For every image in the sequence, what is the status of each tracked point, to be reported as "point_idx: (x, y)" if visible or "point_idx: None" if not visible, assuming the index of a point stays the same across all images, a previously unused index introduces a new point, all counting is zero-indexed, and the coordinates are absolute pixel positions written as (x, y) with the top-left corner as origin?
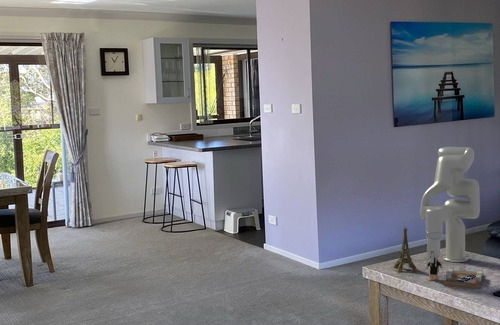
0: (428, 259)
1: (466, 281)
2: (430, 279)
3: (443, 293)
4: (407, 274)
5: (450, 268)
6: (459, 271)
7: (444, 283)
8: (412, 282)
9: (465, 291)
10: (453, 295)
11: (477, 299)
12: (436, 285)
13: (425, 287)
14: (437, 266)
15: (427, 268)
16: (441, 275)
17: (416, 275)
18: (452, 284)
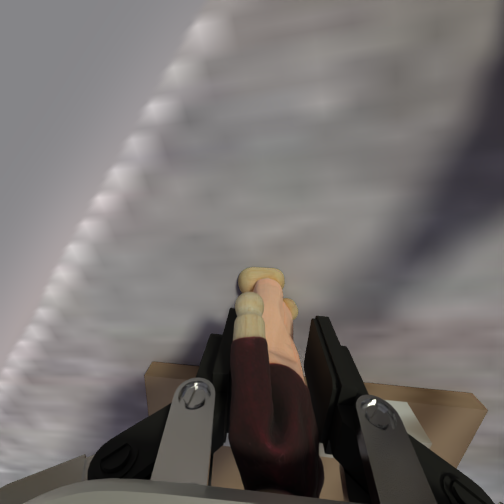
0: (128, 495)
1: (224, 472)
2: (240, 284)
3: (8, 358)
4: (422, 42)
5: None
6: (447, 454)
7: (144, 375)
8: (151, 140)
9: (99, 444)
10: (5, 399)
11: (10, 475)
12: (143, 320)
13: (67, 256)
14: (315, 417)
15: (239, 314)
16: (396, 343)
17: (386, 151)
18: (150, 411)
